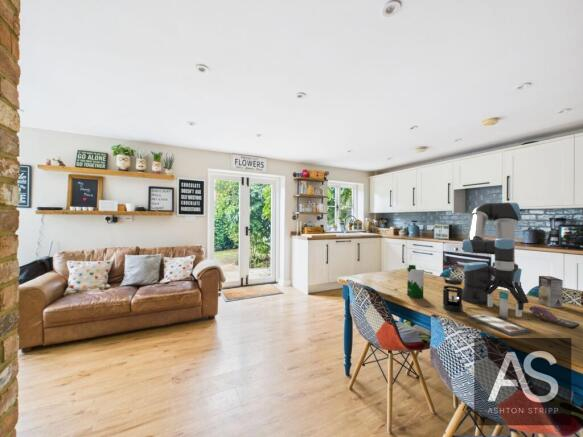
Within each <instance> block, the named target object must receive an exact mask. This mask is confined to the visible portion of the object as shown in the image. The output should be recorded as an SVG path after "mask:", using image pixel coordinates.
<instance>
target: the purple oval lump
mask: <svg viewBox="0 0 583 437" xmlns="http://www.w3.org/2000/svg"><path fill="white" fill-rule="evenodd" d="M529 311H530V312H531V313H532V314H533V315H535V316H536V317H537V318H542V319H543V320H545V321H547V320H551V321H553V322H556V323H557V322H558V317H557V316H556V315H555V314H554V313H553V312H552V311H550V310H549V309H546V308H545V307H543V306H538V305H537V306H536V305H533V306H530V307H529Z"/></svg>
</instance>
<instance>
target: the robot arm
mask: <svg viewBox="0 0 583 437" xmlns="http://www.w3.org/2000/svg"><path fill="white" fill-rule="evenodd" d="M469 220H470V226H469V233H468V238H467V239H466V238H465V239H463V241H462V252H464V253H470V254H481V255H482V254H485V255H493V256H494V261H493V262H492V265H489V264H488V263H487V262H477V261H476V262H473V261H472V262H467V263H464V270H463V275H464V276H463V277H464V278H463V279H464V280H463V283H464V284H463V285H464V286H463V288H462V289H463V292H462V301H465V302H469V303H472V304H478V305H487V307H488V308H491V307H494V294H493V292H495V291H496V290H497V289H498V288H499V287H500V288H504V289H507V290H508V291H509V293H510V294H511V295H512V296H513V298H514V299H515V300H516V302H515V317H518V318H520V317H523V311H524V306H525V305H524V304H528V303H529V302H530V301H529V299H528V297H527V295H526V294H525V291H524V290H523V287H522V282H521V275H522V270H523V269H522V268H519V265H518V264H517V262H515V261H516V258H515V257H516V256H515V255H516V254H515V250H516V249H515V243H516V242H515V240H516V239H515V234H516V233H515V232H516V231H515V226H516V225H517V224H518V222H519V221H521V220H522V215H521V209H520V205H519V204H518V202H487V203H482V204H480V205H477V206H475V208H474V209H472V210H471V213H470V214H469ZM488 221H491V222H493V224H494V225H495V226H496V229H495V230H496V233H495V235H496V236H495V239H494V240H487V239H486V240H485V234H486V225H487V224H486V223H487V222H488Z"/></svg>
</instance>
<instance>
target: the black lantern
mask: <svg viewBox="0 0 583 437" xmlns="http://www.w3.org/2000/svg"><path fill="white" fill-rule="evenodd" d="M448 269H449V270H451V272H452V273H455V271H457V270H458V268H456V267H448ZM443 280H444V283H445V284H448V285H444V286H443V288H442V289H443V290H442V305H443V306H442V309H443V310H445V311H447V312H450V313H459V314H460V313H463V312H464V310H463V309H464V308H463V306H464V305H463V304H462V303H463V299H462V292H463V288H462V287H460V286H461V285H462V284H463V282H464V280H463V279H462V278H458V277H453V276H451V277H450V276H449V277H447V276H446V277H443ZM458 286H459V287H458ZM450 293H456V295H455V296H454V295H450Z"/></svg>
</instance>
